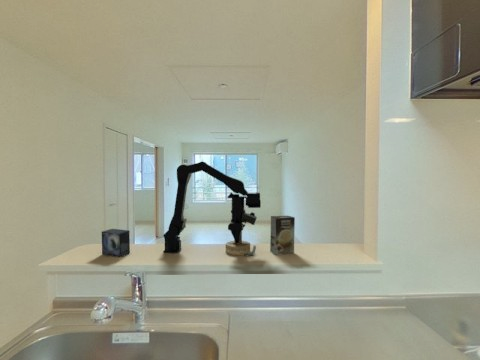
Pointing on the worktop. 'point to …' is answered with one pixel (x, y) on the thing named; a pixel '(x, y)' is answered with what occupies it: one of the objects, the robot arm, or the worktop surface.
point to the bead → (238, 248)
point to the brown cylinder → (239, 240)
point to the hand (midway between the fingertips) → (237, 241)
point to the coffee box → (282, 234)
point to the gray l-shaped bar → (252, 252)
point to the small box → (115, 242)
